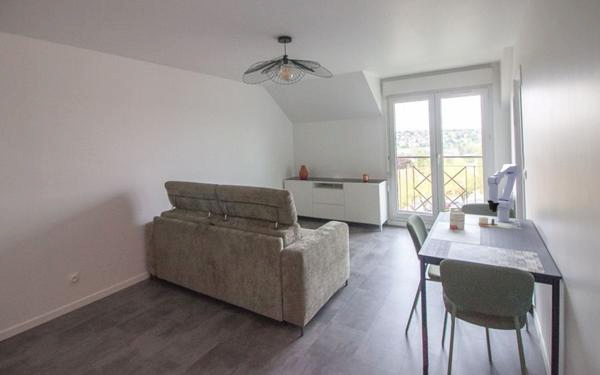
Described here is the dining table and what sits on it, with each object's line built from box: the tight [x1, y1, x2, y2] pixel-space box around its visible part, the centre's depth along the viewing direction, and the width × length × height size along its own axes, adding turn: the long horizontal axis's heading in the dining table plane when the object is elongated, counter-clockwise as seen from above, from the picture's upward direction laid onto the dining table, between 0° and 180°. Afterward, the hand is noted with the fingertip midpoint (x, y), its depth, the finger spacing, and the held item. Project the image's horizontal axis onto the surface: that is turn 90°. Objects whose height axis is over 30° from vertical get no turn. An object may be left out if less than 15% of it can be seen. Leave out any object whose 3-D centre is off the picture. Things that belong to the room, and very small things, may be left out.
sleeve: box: [478, 216, 489, 225], centre depth 237 cm, size 5×6×5 cm
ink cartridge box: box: [449, 207, 466, 230], centre depth 231 cm, size 9×5×15 cm, turn 84°
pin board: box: [477, 218, 500, 228], centre depth 236 cm, size 10×12×5 cm
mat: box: [495, 222, 513, 227], centre depth 236 cm, size 9×9×1 cm
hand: (492, 210), depth 240 cm, fingers open, 7 cm apart
